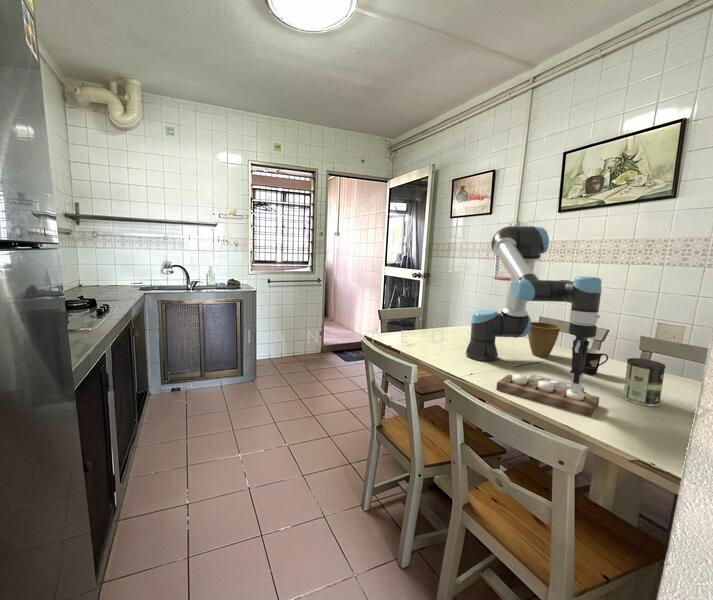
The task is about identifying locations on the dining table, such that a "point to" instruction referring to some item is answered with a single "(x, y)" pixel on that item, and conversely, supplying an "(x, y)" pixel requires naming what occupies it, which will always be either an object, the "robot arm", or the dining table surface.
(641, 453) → the dining table surface
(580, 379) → the robot arm
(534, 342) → the plant pot
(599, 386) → the dining table surface
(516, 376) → the button left
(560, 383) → the pattern sign
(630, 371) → the coffee can
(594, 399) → the button board
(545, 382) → the button middle
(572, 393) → the button right
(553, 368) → the dining table surface
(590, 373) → the coffee mug
